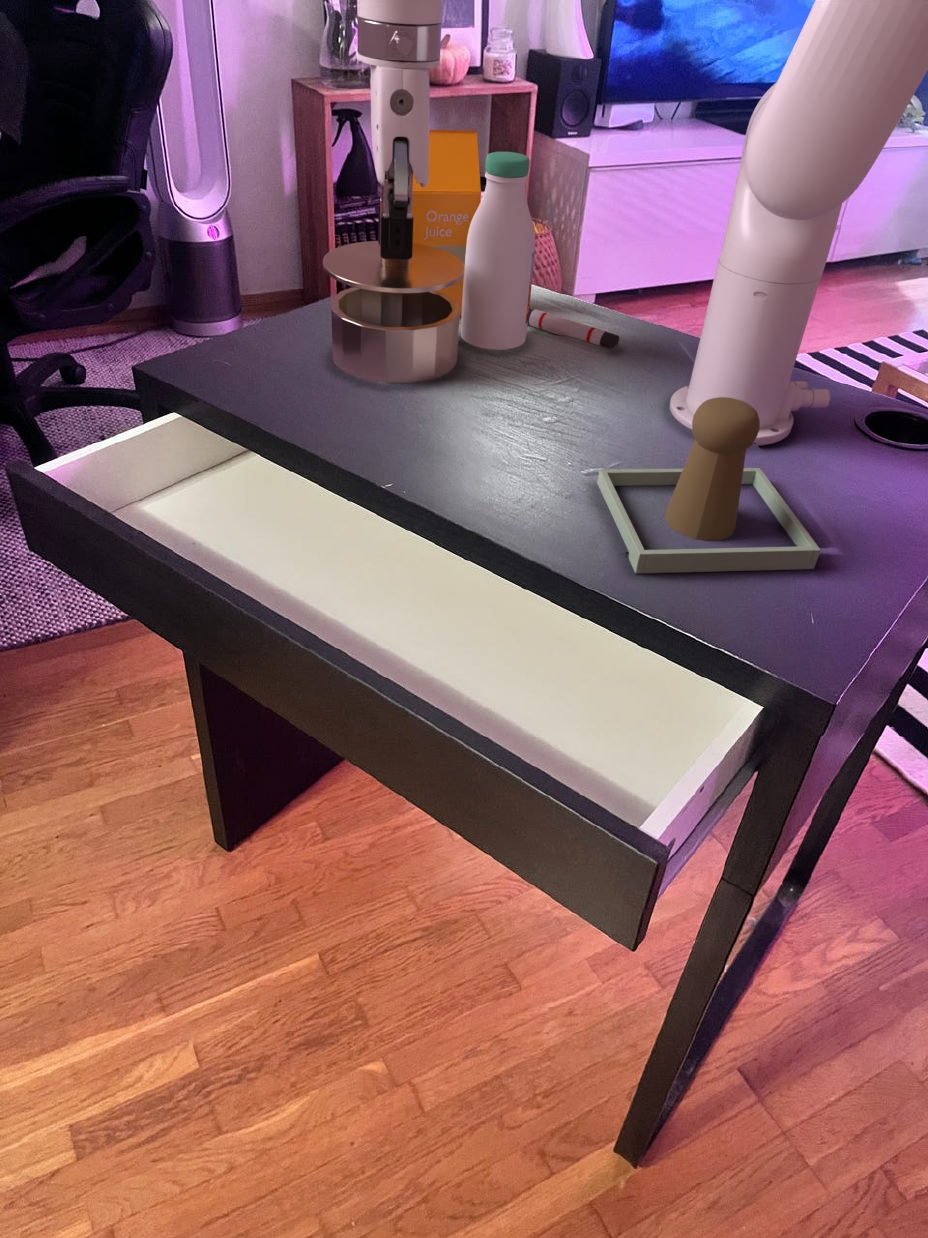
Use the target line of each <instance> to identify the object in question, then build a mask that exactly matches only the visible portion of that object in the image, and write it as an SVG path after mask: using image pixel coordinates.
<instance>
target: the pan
mask: <svg viewBox="0 0 928 1238" xmlns="http://www.w3.org/2000/svg"><path fill="white" fill-rule="evenodd" d="M330 310H331V311H330V312H331V313H330V314H331V345H332V346H331V347H332V348H331V349H332V351H331V352H332V362H333V364H335V365H336V366H337V367H338V368H339V369H340V370H341V371H342V372H344V373H347V374H349V375H351V376H354V377H356V378H359V379H362V380H366V381H372V382H377V383H383V384H417V383H420V382H421V383H422V382H426V381H433V380H436V379H438V378H440V377H442V376H444V375H447V374H448V373H450V372H451V371H452V370H453V369H454V367H455V366H456V365H457V363H458V349H459V331H460V318H461V317H460V310H459V307H458V304H457V302H456V301H455V300H454V299H452V298H451V297H449V296H448V295H446V294H444V293H442V292H439V291H436V290H435V291H429V292H421V293H387V292H377V291H370V290H365V289H360V288H356V287H353V286H351V287H350V288H346V289H343V290H341V291H339V292H338V293H337V294H336V295H335V296H334V297H332V298H331V299H330Z"/></svg>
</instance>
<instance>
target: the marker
mask: <svg viewBox="0 0 928 1238" xmlns="http://www.w3.org/2000/svg"><path fill="white" fill-rule="evenodd" d="M527 326H530V327H534V328H536V329H539V330H543V331H545V332H549V333H552V334H555V335H558V336H561V337H570V338H574V339H577V340H580V341H584V342H587V343H590V344H593V345H595V346H599V347H603V348H606V349H610V350H612V349H614V348H615V347H617V346H618V345H619V343H620V336H619V335H618V334H616V333H612V332H609V331H607V330H603V329H600V328H597V327H594V326H591V325H587V324H584V323H581V322H578V321H575V320H571V319H569V318H565V317H562V316H559V315H555V314H552V313H549V312H545V311H542V310H539V309H535V308H531V307H529V315H528V324H527Z"/></svg>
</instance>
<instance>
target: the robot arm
mask: <svg viewBox="0 0 928 1238" xmlns="http://www.w3.org/2000/svg"><path fill="white" fill-rule="evenodd" d="M356 1H357V3H356V6H357V12H356V13H357V61H359V62H361V63H363V64H367V65H370V126H371V127H370V131H371V145H372V155H373V163H374V171H375V175H376V179H377V181H378V183H379V184H380V201H381V200H382V199H384V216H381V241H380V204H378V220H377V221H378V223H377V224H378V225H377V226H378V231H377V236H378V237H377V238H378V239H377V241H378V242H379V245H380V254H381V257H382V258H383V259H411V258H412V250H413V219H414V218H413V217H412V193H413V173H414V176H415V179H416V182H417V183H420V185H421V187H426V186H427V185H428V183H429V130H430V120H431V119H430V116H431V114H430V110H431V103H430V102H431V99H430V98H431V95H430V94H431V93H430V92H431V91H430V90H431V88H430V87H431V86H430V71H429V70H430V69H435V68H438V67H440V66H441V48H442V47H441V45H442V22H443V1H444V0H356ZM927 72H928V0H815V1H814V3H813V5H812V6H811V9H810V11H809V14H808V16H807V18H806V20H805V22H804V24H803V27H802V29H801V31H800V33H799V35H798V37H797V39H796V41H795V43H794V46H793V47H792V50H791V52H790V53H789V56H788V58H787V61H786V63H785V64H784V67H783V68H782V71H781V73H780V75H779V77H778V79H777V81H776V82H775V83H774V84H773V85H772V86H770V87H769V89H768V90H767V91H766V92H765V93H764V94H763V95H762V96H761V98H760V100H759V101H758V102H757V104H756V106H755V108H754V109H753V111H752V114H751V116H750V119H749V121H748V125H747V129H746V131H745V132H746V133H745V137H744V142H743V147H742V152H741V157H740V162H739V168H738V172H737V177H736V181H735V186H734V191H733V194H732V195H733V196H732V201H731V204H730V209H729V214H728V218H727V221H726V227H725V232H724V236H723V240H722V243H721V249H720V252H719V257H718V259H717V265H716V269H715V272H714V277H713V280H712V284H711V289H710V295H709V299H708V303H707V307H706V312H705V315H704V320H703V324H702V329H701V334H700V337H699V342H698V345H697V351H696V355H695V359H694V363H693V369H692V373H691V377H690V380H689V384H688V385H685V386H682V387H681V388H679V389H677V390H676V391H675V392H674V393H673V394H672V395H671V397H670V401H669V411H670V413H671V414H672V416H673V417H674V418H675V419H676V420H677V421H678V422H679V423H680V424H681V425H683V426H685V427H686V428H688V429H690V430H692V421H693V416H694V414H695V412H696V410H697V409H698V407H699V406H700V405H701V404H702V403H703V402H704V401H706V400H708V399H712V398H717V397H727V398H733V399H737V400H741V401H743V402H745V403H747V404H749V405H750V406H752V407H753V408H754V409H755V410H756V411H757V413H758V416H759V421H760V429H759V432H758V435H757V437H756V439H755V441H754V442H753V444H756V446H758V447H759V446H766V445H773V444H775V443H778V442H780V441H782V440H784V439H786V438H787V437H788V436H789V434H790V433H791V431H792V428H793V425H794V416H793V414H792V412H796V411H799V409H800V408H807V409H826V408H827V407H828V406H829V405H830V402H831V393H830V390H829V389H827V388H810V389H809V386H808V382H807V381H805V380H803V381H802V380H799V381H798V380H794V381H791V378H792V374H793V371H794V367H795V364H796V361H797V357H798V355H799V351H800V348H801V345H802V341H803V337H804V335H805V332H806V328H807V325H808V321H809V318H810V315H811V311H812V308H813V305H814V302H815V298H816V296H817V292H818V288H819V286H820V283H821V280H822V279H821V278H822V276H823V274H824V270H825V267H826V265H827V260H828V257H829V255H830V250H831V247H832V244H833V240H834V238H835V237H834V236H835V233H836V230H837V226H838V222H839V217H840V215H841V210H842V206H843V203H844V202H845V201H847V200H848V199H849V198H850V197H851V196H852V195H853V194H854V193H855V192H856V191H857V189H858V188H859V187H860V185H861V184H862V183H863V181H864V180H865V178H866V177H867V175H868V174H869V172H870V171H871V169H872V167H873V166H874V164H875V162H876V161H877V159H878V157H879V156H880V154H881V153H882V151H883V149H884V148H885V146H886V144H887V142H888V141H889V140H890V139H889V138H890V137H891V135H892V133H893V132H894V131H895V128H896V127H897V125H898V123H899V121H900V119H901V118H902V116H903V114H904V113H905V111H906V109H907V107H908V105H909V104H910V102H911V100H912V99H913V97H914V95H915V93H916V91H917V89H919V86H920V84H921V83H922V81H923V79H924V78H925V75H926V74H927Z"/></svg>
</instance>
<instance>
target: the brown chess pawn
mask: <svg viewBox="0 0 928 1238" xmlns="http://www.w3.org/2000/svg"><path fill="white" fill-rule="evenodd" d="M759 429H760V421H759V416H758V413H757V411H756V410H755V409H754V408H753V407H752V406H750V405H749V404H747V403H745V402H743V401H741V400H737V399H733V398H727V397H717V398H712V399H708V400H706V401H704V402H703V403H702V404H701V405H700V406H699V407H698V409H697V410H696V412H695V414H694V416H693V421H692V429H691V431H692V436H693V437H694V441H693V443H692V446H691V448H690V451H689V454H688V456H687V459H686V461H685V464H684V465H683V468H682V469H683V471H682V473H681V476H680V478H679V481H678V483H677V485H675V488H674V490H673V493H672V496H671V497H670V501H669V503H668V505H667V508H666V510H665V513H664V521H666V524H667V525H668V526H669V527H670V528H671V529H672V530H673V531H675V532H676V533H678V534H680V535H682V536H684V537H687V538H689V539H693V540H697V541H704V542H715V541H717V542H719V541H722V540H725V539H728V538H730V537H731V536H733V534H734V532H735V530H736V528H737V527H736V526H737V520H738V512H739V505H740V498H741V491H742V490H741V489H742V484H741V483H742V476H743V469H744V468H745V462H746V453H747V450H748V449H749V448H750V447H752V445H753V444H754V443H753V442H754V441H755V439H756V437H757V435H758V432H759Z"/></svg>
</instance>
